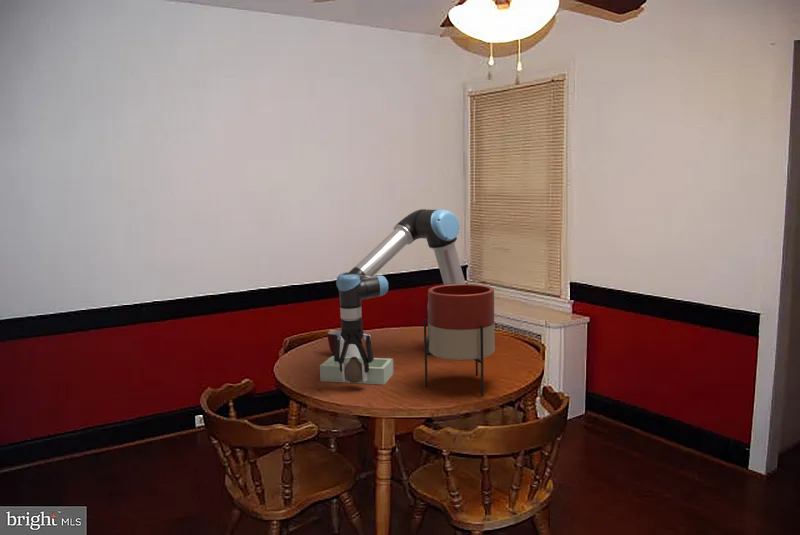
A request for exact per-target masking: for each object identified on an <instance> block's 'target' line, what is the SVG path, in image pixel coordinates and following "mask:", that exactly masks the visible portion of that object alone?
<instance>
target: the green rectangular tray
mask: <svg viewBox="0 0 800 535" xmlns="http://www.w3.org/2000/svg"><path fill="white" fill-rule="evenodd" d="M350 358H351V357H345V360H344V362H346V364H347V363H348V362H349V360H350ZM357 358H358V360H359V361H360V362H361V363H362V364H363V363H364V362H363V360H362V357H357ZM373 358H374V360H373V361H372V362H371V363H369V371H368V372H367V380H366V381H365V382H363V379H362V380H361V381H360V382H357V383H356V384H367V385H385V384H387V382H388V381H389V379H390V378H391V377H392V376H393V375H394V359H393V358H385V357H383V358H382V357H379V358H378V357H373ZM319 375H320V376H319V379H320V380H319V381H320V382H329V383H330V382H331V383H348V384H350V383H351V382H349V381H348V380H346V381H343V373H342V372H340V364H339V362H337V361H336V362H335V361H334V355H331V356H330V357H329V358H328V359H326V360H325V361H323V362H322V363H321V364H320V365H319ZM351 384H352V383H351Z"/></svg>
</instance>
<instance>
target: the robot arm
mask: <svg viewBox="0 0 800 535" xmlns="http://www.w3.org/2000/svg"><path fill="white" fill-rule="evenodd" d="M459 230H460V221H459V220H458V216H456V214H454V213H453V211H452V212H451V210H447V209H424V208H423V209H422V208H421V209H417V210H415V211H413V212H412V211H411V213H409V214H408V215H406V216H405V217H404V218H403V219H401V220H400V221H399V222H398V223H397V224H395V225H394V227H393V231H392V232H390V234H388V235H387V236H386V237H385V238H384V239H383V240H382V241H381V242H380V243H378V245H377V246H375V247H374V248H373V249H372V250H371V251H370V252H369V253H368V254H367V255H366V256H365V257H364V258H363V259H362V260H361V261H360V262H358V263H357V265H355V266H354V267H352V269H350V270H349V272H342V273H339V275H337V277H336V282H335V284H336V285H335V286H336V288H337V289H338V294H339V310H340V311H339V312H340V319H341V320H340V324H341V326H340V328H341V329H340V330H342V331H341V333H340V334H338V333H337V334H335V335H334V336H333V337H334V340H335V350H334V355H333V356H334V361H335V362H336V361H337V362H339V364H340V372H342V373H343V381H346V380H347V378H346V375H345V368H346V365H347V364H346V362H344V360H345V356H346V353H347V349H348V346H349V344H355V345H356V347H357V348H358V350H359V353H360V355H361V357H362V360H363V362H364V363H363V364H362V377H363V382H365V381H366V380H367V372H368V371H369V363H371V362H372V361H373V360H374V358H375V357H374V352H373V347H372V334H371V333H369V334H367V333H365V332H364V330H363V328H364V327H363V318H362V317H363V315H362V314H363V313H362V301H363V300H367V299H372V298H373V299H374V298H377V297H378V298H379V297H382V296H385V295H386V294H387V293H388V291H389V281H388V280H387V278H386V277H385V276H384V275H376V274H377V273H378V272H379V271H380V270H381V269H382V268H383V267H384V266H385V265H386V264H388V262H390V261H391V260H392V259H393V258H394V257H395V256H396V255H397V254H398V253H399V252H400V251H401V250H403V249H404V248H405V246H406V245H411V244H412V243H413V242H414V241H416V240H418V239H426V242H427V245H428V247H429V248H430V249H432V250H433V252H434V256H435V259H436V263H437V266H438V269H439V271H440V276H441V280H442V282H443V285H448V284H467V283H466V280H465V276H464V273H463V270H462V266H461V263H460V259H459V255H458V252H457V248H456V245H455V244H456V243H457V240H458V237H457V236H458V235H459V233H460V232H459ZM427 330H428V331H427V335H426V339H427V353H430V351H429V310H428V307H427ZM341 337H342V338H343V339H344V345H343V349H342V353H341V356H340V339H341ZM363 338H364V341H365V348H366V350H365V348H364V345H363V341H362V339H363Z"/></svg>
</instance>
